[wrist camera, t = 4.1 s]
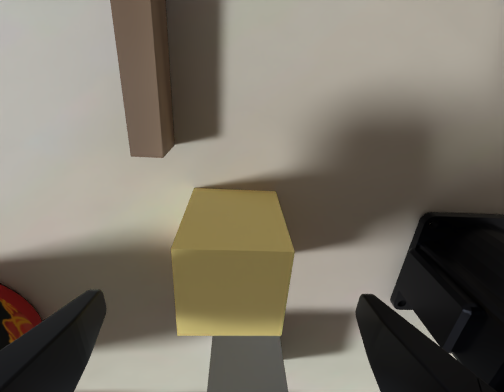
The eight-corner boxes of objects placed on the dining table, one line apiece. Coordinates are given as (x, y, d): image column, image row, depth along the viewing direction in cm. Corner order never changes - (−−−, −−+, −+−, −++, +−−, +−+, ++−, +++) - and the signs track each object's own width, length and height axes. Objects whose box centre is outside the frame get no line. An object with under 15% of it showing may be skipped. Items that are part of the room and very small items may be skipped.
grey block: (277, 319, 17) (290, 408, 13) (271, 360, 19) (281, 452, 14) (214, 319, 17) (205, 410, 12) (214, 360, 19) (206, 454, 14)
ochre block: (275, 190, 13) (294, 251, 9) (268, 256, 15) (281, 335, 10) (194, 187, 13) (171, 249, 9) (196, 254, 15) (177, 335, 10)
